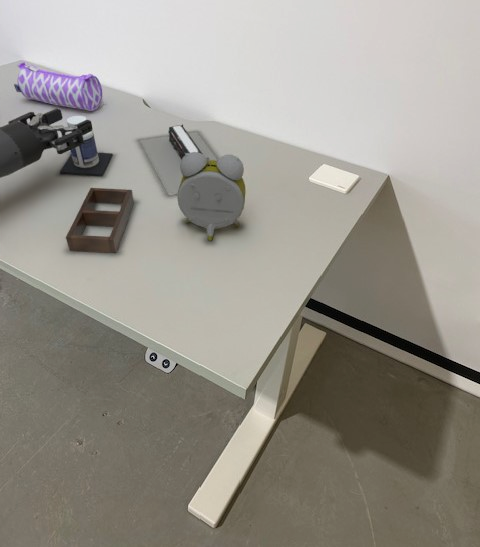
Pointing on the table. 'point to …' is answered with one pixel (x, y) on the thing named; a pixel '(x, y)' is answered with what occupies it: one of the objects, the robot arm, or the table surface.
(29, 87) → the pencil case
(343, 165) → the table surface
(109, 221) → the bottle holder
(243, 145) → the table surface
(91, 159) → the pill bottle
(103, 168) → the rubber pad
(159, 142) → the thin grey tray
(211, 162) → the alarm clock
